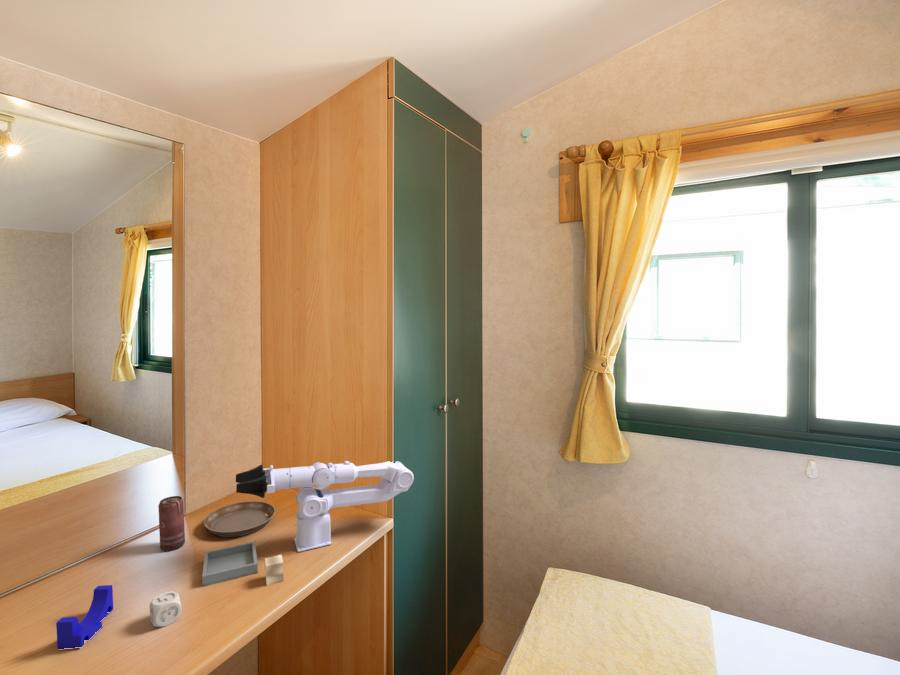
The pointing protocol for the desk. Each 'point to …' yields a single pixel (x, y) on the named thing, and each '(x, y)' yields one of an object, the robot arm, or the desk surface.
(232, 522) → the plant saucer
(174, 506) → the can
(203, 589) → the desk surface
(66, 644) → the blue curved piece
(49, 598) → the desk surface
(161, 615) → the die
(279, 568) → the block
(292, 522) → the desk surface
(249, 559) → the tray
